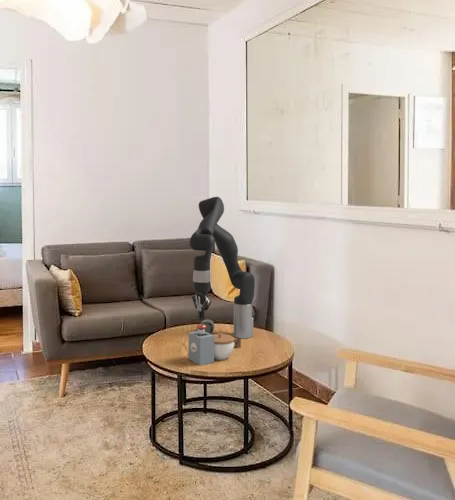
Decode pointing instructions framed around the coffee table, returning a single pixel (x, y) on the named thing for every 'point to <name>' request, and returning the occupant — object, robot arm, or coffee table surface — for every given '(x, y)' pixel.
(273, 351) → the coffee table surface
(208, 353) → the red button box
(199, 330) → the plunger
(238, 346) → the brown curved bar
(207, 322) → the ceramic mug
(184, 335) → the coffee table surface
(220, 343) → the lidded bowl
